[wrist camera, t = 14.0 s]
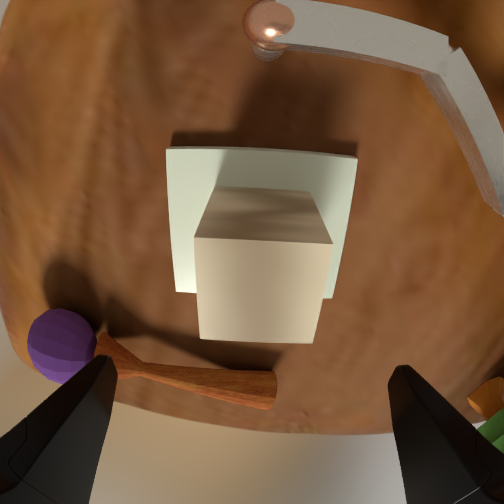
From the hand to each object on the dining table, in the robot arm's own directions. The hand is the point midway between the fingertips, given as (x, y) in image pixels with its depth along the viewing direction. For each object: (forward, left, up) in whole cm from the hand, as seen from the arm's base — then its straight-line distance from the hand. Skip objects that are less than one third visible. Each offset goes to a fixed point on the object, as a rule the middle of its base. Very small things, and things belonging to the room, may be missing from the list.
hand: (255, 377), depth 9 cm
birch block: (0, 0, -10) cm, 10 cm away
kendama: (+8, +11, -11) cm, 18 cm away
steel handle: (-9, -7, -11) cm, 16 cm away
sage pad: (0, 0, -11) cm, 11 cm away
